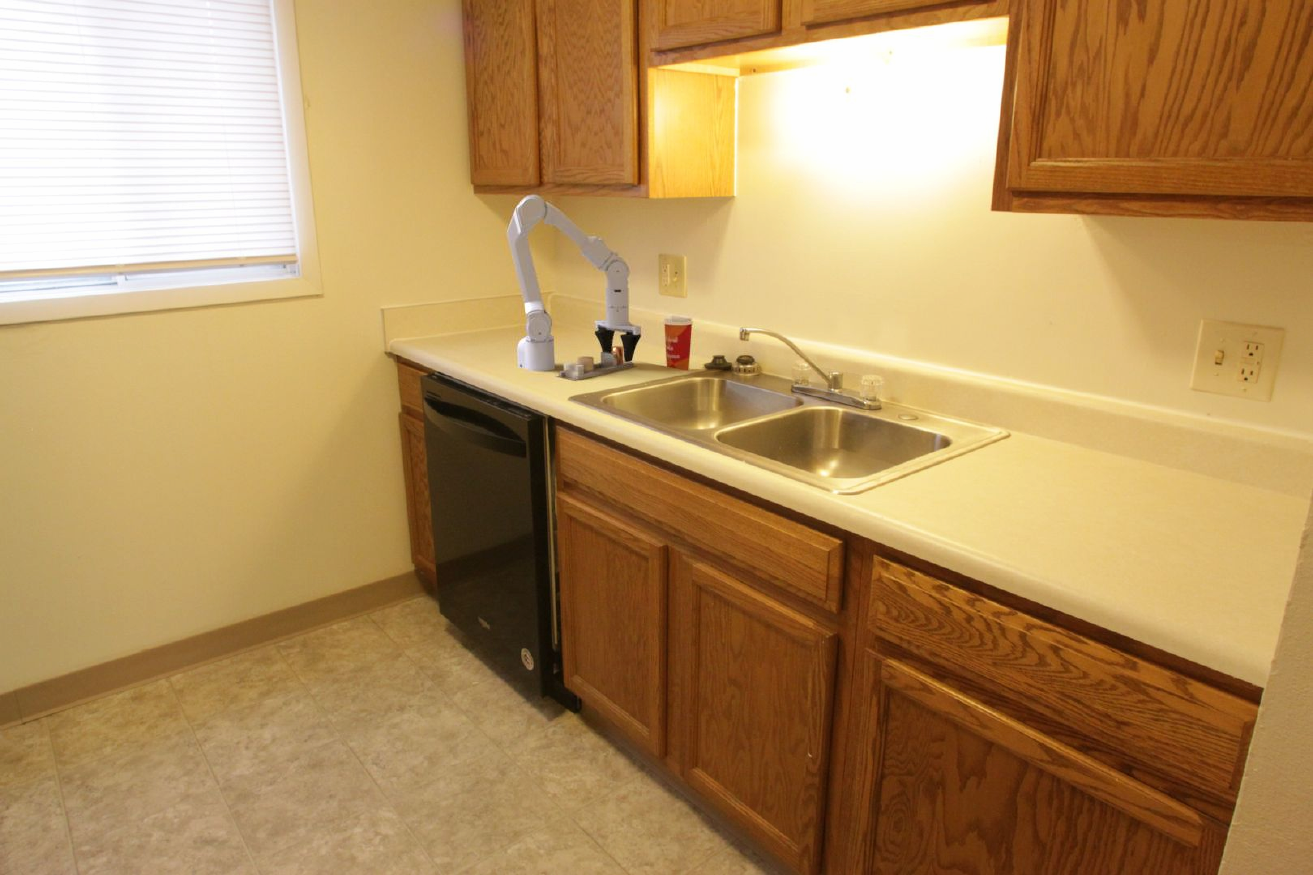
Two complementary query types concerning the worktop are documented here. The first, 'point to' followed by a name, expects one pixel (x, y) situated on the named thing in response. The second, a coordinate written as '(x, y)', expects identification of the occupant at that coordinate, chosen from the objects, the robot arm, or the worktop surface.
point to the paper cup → (678, 341)
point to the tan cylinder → (586, 363)
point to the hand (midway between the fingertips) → (618, 359)
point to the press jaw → (613, 358)
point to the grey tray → (577, 372)
